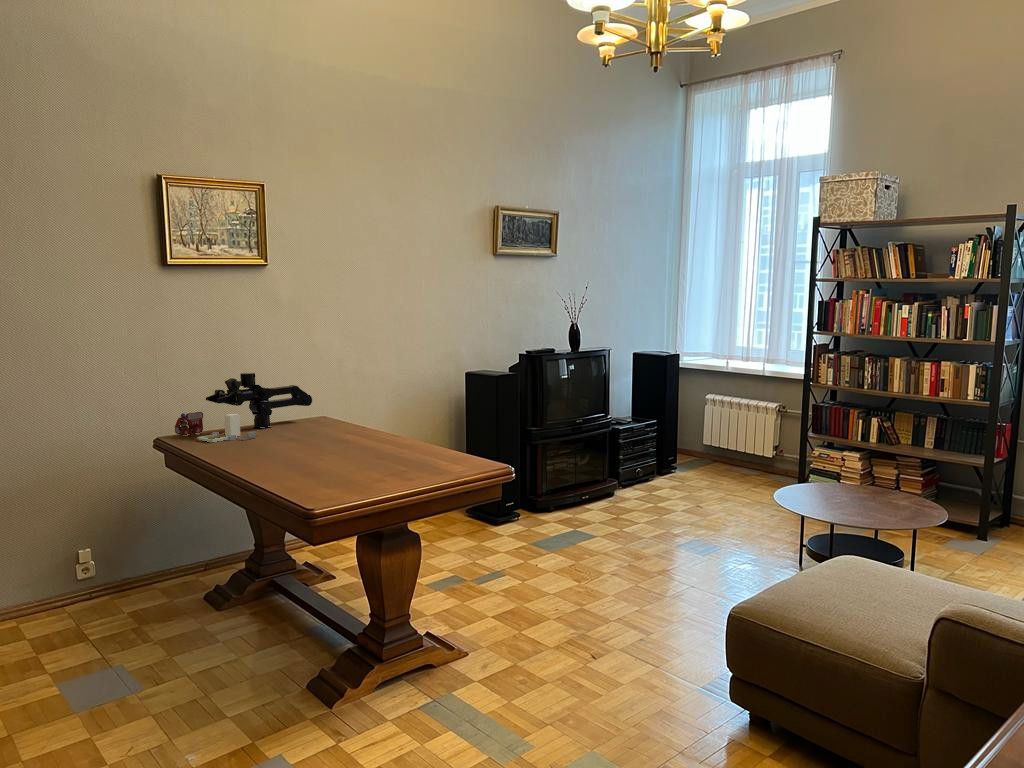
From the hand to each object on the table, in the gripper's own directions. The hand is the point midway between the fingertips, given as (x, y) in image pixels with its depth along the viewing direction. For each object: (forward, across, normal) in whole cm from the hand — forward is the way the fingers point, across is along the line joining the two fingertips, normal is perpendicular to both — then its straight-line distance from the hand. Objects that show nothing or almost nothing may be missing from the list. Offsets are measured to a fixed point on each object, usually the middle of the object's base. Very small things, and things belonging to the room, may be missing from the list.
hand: (211, 399), depth 337 cm
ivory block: (-3, +10, +17) cm, 20 cm away
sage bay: (+6, +10, +16) cm, 20 cm away
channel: (-3, +10, +16) cm, 20 cm away
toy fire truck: (+5, -12, +17) cm, 21 cm away
